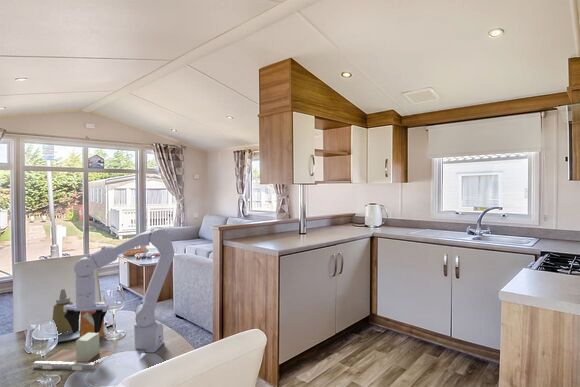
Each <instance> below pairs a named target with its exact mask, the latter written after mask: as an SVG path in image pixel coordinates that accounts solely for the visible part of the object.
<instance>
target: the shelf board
mask: <svg viewBox="0 0 580 387" xmlns="http://www.w3.org/2000/svg"><path fill="white" fill-rule="evenodd" d="M99 351H100V353H98V354H97V355H96V356H94V357H93V358H92V359H90V360H89V361H88V362H85V361H76V349H66V348H65V349H61V350H60V351H58V352H56V353H55V354H53V355H51V356H50V357H48V358H47V359H45V360H36V361H34V362H33V369H42V370H53V369H54V370H57V369H58V370H72V371H82V370H84V371H93V370H94V369H96V368H97V367H98V366H99V365H101V364H102V363H103V362H102V361H101V362H100V363H99V362H97V363H96V362H95V363H91V362H94V361H96V360H98V359H101V358H103V357H106V356H109V357H110V356H112V355H113V354H114V353H116V350H100V349H99Z"/></svg>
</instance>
